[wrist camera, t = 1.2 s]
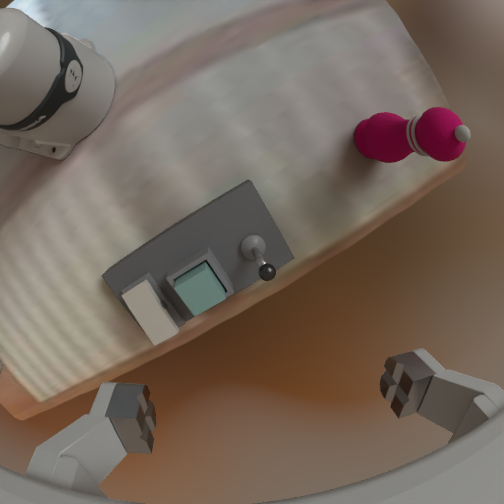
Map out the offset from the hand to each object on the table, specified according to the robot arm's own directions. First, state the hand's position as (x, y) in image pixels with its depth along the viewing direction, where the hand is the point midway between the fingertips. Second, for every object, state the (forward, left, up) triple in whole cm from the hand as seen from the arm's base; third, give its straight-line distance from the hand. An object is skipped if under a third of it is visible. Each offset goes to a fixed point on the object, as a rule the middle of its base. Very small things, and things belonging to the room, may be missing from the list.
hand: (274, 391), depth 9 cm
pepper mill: (+20, +15, -33) cm, 41 cm away
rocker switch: (-8, -13, -28) cm, 32 cm away
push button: (-2, -8, -28) cm, 29 cm away
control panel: (-3, -7, -33) cm, 34 cm away
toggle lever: (+4, -3, -29) cm, 29 cm away
